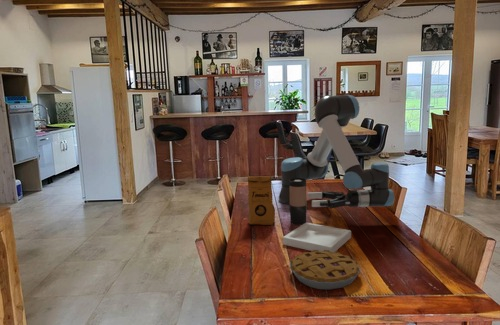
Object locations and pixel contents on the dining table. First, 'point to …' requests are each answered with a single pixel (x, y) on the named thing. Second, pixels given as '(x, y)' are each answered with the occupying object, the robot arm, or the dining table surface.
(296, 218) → the travel mug
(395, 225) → the dining table surface
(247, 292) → the dining table surface
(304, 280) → the pie
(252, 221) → the coffee package
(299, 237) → the tray
